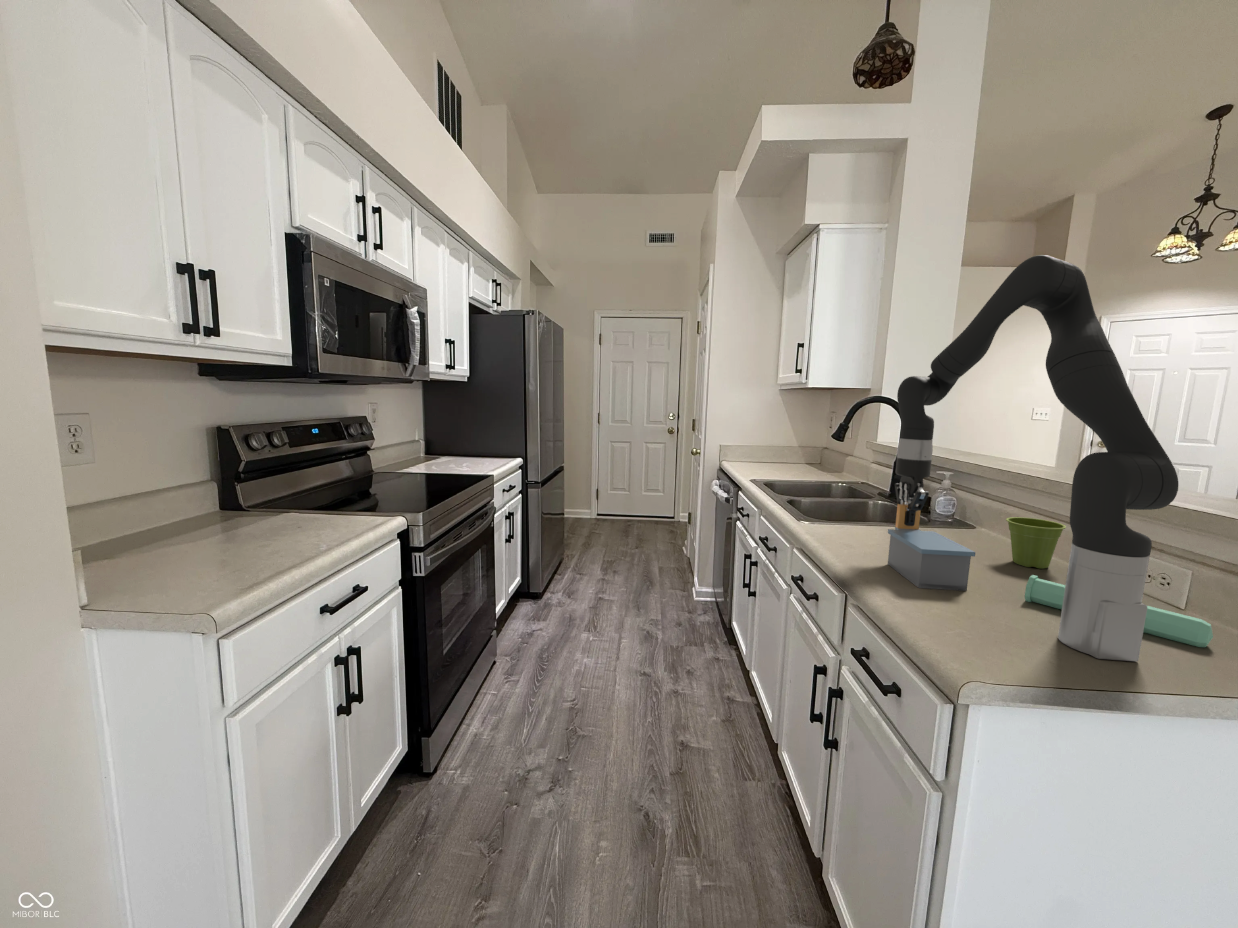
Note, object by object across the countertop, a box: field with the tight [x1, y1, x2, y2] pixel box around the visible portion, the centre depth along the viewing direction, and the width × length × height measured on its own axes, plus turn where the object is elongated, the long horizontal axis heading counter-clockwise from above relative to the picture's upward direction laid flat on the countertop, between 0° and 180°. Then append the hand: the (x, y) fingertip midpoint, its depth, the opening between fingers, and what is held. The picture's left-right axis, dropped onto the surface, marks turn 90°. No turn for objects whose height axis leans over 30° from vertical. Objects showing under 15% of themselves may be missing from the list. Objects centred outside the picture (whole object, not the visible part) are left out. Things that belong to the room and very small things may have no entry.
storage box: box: [887, 534, 972, 592], centre depth 116 cm, size 16×10×8 cm, turn 174°
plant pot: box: [1005, 516, 1067, 570], centre depth 127 cm, size 12×12×11 cm
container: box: [1024, 574, 1214, 648], centre depth 94 cm, size 6×6×25 cm
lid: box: [887, 503, 976, 558], centre depth 116 cm, size 20×11×8 cm, turn 174°
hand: (907, 524), depth 126 cm, fingers closed on lid, 1 cm apart
